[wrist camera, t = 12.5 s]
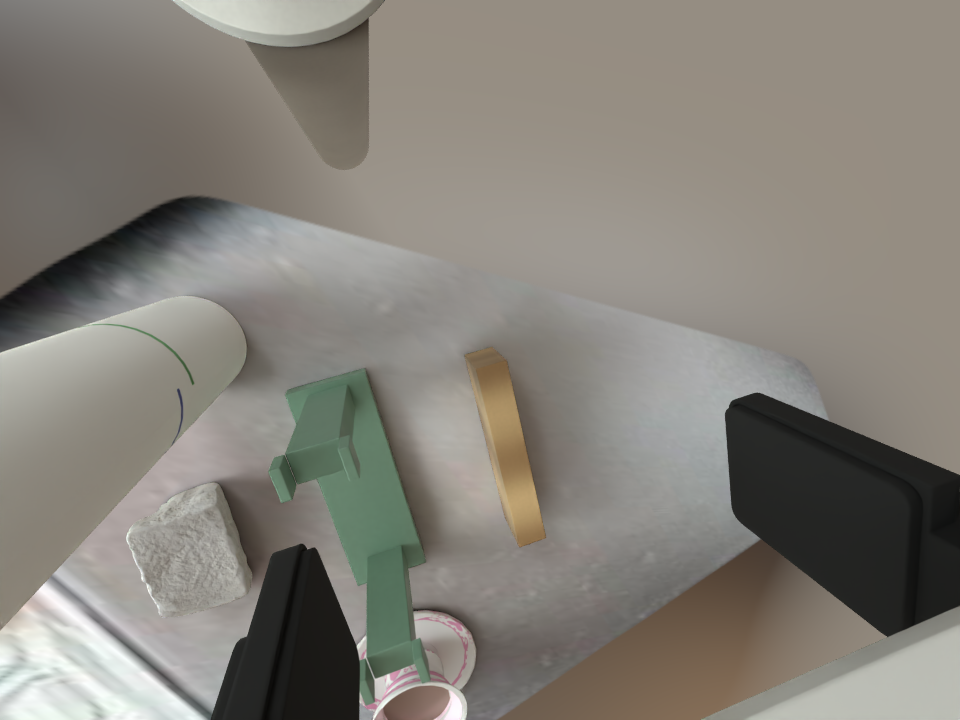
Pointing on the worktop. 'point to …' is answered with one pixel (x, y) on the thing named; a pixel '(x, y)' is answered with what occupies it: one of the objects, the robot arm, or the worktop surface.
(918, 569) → the robot arm
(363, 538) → the hanger stand
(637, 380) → the worktop surface
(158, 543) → the grey stone block
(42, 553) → the cylindrical container
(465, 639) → the teacup
